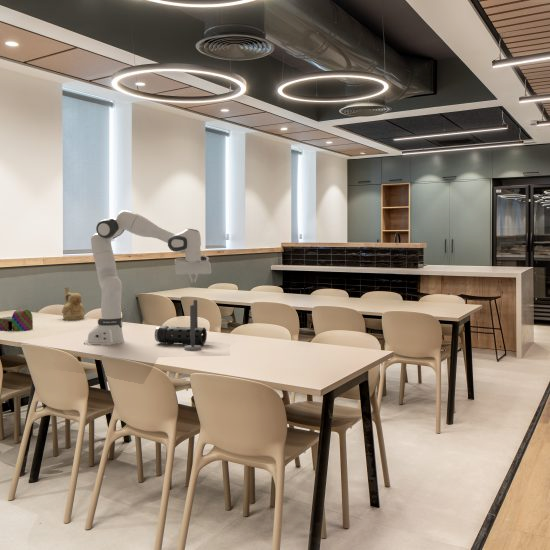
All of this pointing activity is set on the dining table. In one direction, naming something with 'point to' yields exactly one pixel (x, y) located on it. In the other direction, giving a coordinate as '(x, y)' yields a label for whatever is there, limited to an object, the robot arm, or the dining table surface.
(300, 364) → the dining table surface
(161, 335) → the muzzle brake
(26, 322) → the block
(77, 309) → the tan eared figurine
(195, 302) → the far cord post
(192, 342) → the post
